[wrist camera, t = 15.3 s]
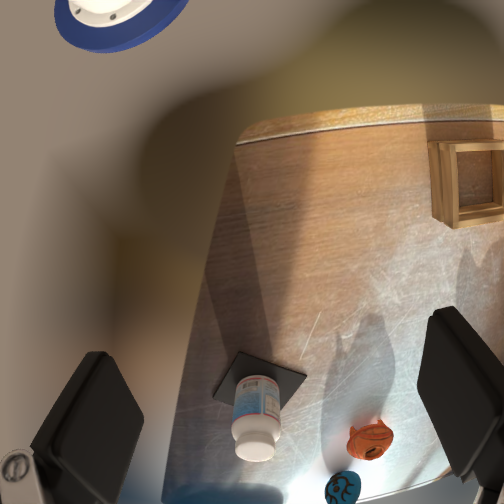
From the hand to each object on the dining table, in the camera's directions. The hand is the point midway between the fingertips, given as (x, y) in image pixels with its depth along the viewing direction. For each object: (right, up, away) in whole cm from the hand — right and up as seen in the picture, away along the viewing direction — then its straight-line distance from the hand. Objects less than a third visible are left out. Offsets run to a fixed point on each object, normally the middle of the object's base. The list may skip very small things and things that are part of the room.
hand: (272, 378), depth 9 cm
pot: (+19, -26, +37) cm, 49 cm away
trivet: (0, -16, +34) cm, 38 cm away
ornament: (+17, -40, +43) cm, 61 cm away
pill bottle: (0, -15, +34) cm, 37 cm away
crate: (+25, +12, +23) cm, 36 cm away
